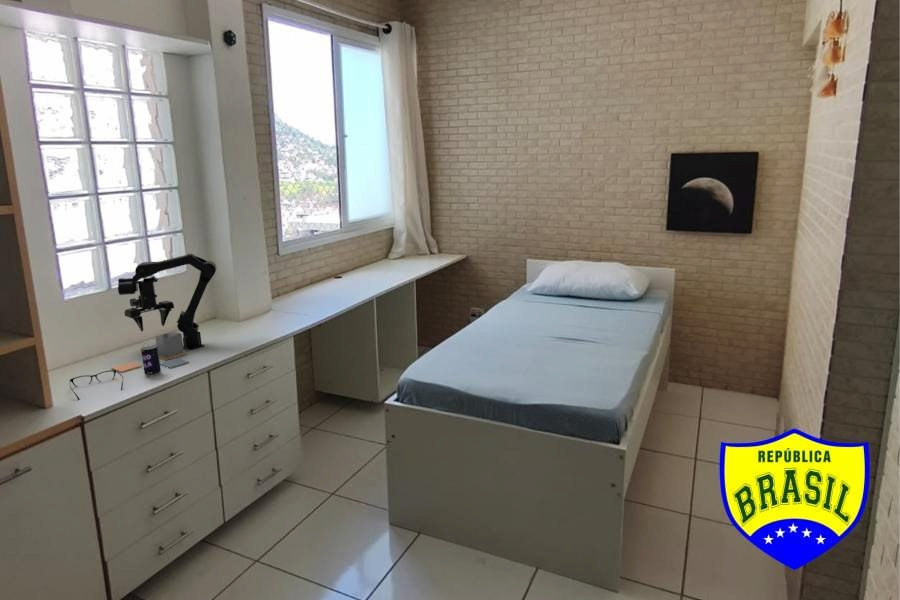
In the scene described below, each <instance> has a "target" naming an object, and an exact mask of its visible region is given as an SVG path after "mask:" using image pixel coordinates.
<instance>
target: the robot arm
mask: <svg viewBox="0 0 900 600" xmlns="http://www.w3.org/2000/svg"><path fill="white" fill-rule="evenodd" d="M186 265H190V266H192V267H193V268H195V269H197V271H200V273H199V279H198V282H197V285H196V287H195V290H194V292H193V295H192V297H191V299H190V301H189V303H188V305H187V308H186V309H185V311H183V310H181V311H180V314H179V317H178V318H177V320H176V323H177V325H176V326H177V329H178V330H179V331H180V332H182V343H183V349H186V350H194V349H198V348H201V347H204V346H205V345H204V344H202V336H201V331H199V328H200V325H199V324H198V323H197V322H195V321H194V320H195V317H196V311H197V309H198V307H199V304H200V302H201V300H202V297H203V295H204V293H205V290H206V288H207V285H208V284H209V282H210V281H211V280H212V278H213V277H214V275H216V271H217V268H218V267H217V264H216V263H215V262H214V261H212V260H206V259H204V258H201V257H199V256H196V254H193V253H187V254H184V255H181V256H176V257H172V258H167V259H164V260H163V259H162V260H159V261H145V262H141V263H139V264H138V265H137V266H136V268H135V270H134V272H135V274H134V275H133V276H132V277H128V278H126V277H125V278H123V277H122V278H119V279H118V281H117V282H118V283H117V284H118V285H117V286H118V287H117V292H118V294H119V296H124V295H125V296H127V295H136V293H137V292H138V293H139V295H138V299H136V298H135V297H134V298H130V299H129V305H130V308H125V310H124V316H125V317H127V318H129V319H132V320H133V321H134V322H135V323H136V325H137V327H138V328H139V330H140V331H141V332H144V324H143V321H144V320H143V316H142V315H141V314H143V313H147V312H151V311H157V310H158V312H159V315H160V323H161V324H160V325H161V326H162V327H164V326H165V323H166V321H167V318H168V316H169V314H170V312H172V311H173V310H172V309H174V308H175V304H174V302H173V301H170V300H164V301H158V303H157V298H158V294H156V290H155V283H157V282H159V279H158V278H157V277H156V276H155V274H157V273H160V272H162V271H167V270H170V269H173V268H179V267H182V266H186ZM141 279H143V280H141Z"/></svg>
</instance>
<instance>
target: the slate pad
mask: <svg viewBox="0 0 900 600" xmlns="http://www.w3.org/2000/svg"><path fill="white" fill-rule="evenodd" d="M186 363H188V364H189V363H190V361H189V360H185V359H183V358H179V357H176V358H173V359H170V360H166V361H164V362H160V366H161V365H162V366H161V367H163V366H165V367H164V368H166V367H168V368H167V369H169V368H172V369H174V368H173V367H175V368H177V367H176V366H178V367H181V366H184V365H187V364H186ZM183 364H184V365H183ZM180 365H181V366H180Z"/></svg>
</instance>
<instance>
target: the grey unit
mask: <svg viewBox="0 0 900 600" xmlns="http://www.w3.org/2000/svg"><path fill="white" fill-rule="evenodd" d="M154 337H155V338H154V339H155V343H156V345H157V347H158V354H159V360H161V359H162V361H164V360H166V361H169V360H168V359H170V360H173V359H176V358H179V357H178V356H180V357H183V356H185V355H188V351H186V350H184V348H183V334H182V333H179V332H176V331H172V332H167V333H164V334H160V335H155V336H154ZM182 355H183V356H182ZM175 357H176V358H175ZM172 358H173V359H172Z"/></svg>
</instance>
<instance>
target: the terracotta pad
mask: <svg viewBox="0 0 900 600" xmlns="http://www.w3.org/2000/svg"><path fill="white" fill-rule="evenodd" d="M140 368H143V364H142V365H141V364H139V363H136V362H133V361H130V362H126V363H123V364H119V365H116V366H111V370H116V371H118V372H119V373H120V374H122V373H125V372H129V371H133V370H136V369H140ZM118 372H117V373H118Z"/></svg>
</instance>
